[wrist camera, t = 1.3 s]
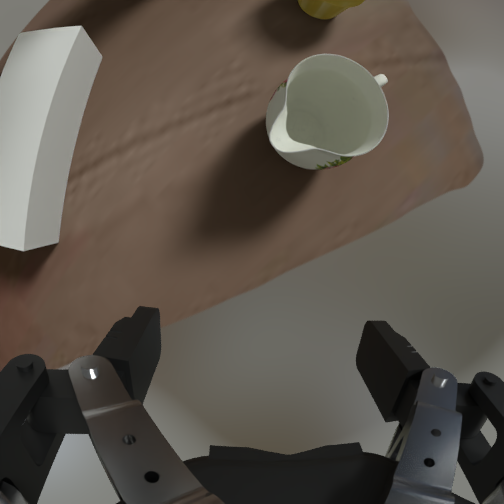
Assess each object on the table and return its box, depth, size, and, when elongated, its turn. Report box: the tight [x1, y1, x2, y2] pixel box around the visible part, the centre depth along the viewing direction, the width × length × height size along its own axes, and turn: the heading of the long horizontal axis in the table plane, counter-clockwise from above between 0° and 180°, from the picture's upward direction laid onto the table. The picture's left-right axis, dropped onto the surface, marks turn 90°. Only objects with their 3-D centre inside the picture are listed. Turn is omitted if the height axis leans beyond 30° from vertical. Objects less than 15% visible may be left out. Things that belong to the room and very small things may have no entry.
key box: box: [0, 26, 102, 251], centre depth 28 cm, size 10×26×9 cm, turn 169°
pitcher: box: [266, 54, 389, 170], centre depth 31 cm, size 11×18×14 cm, turn 127°
